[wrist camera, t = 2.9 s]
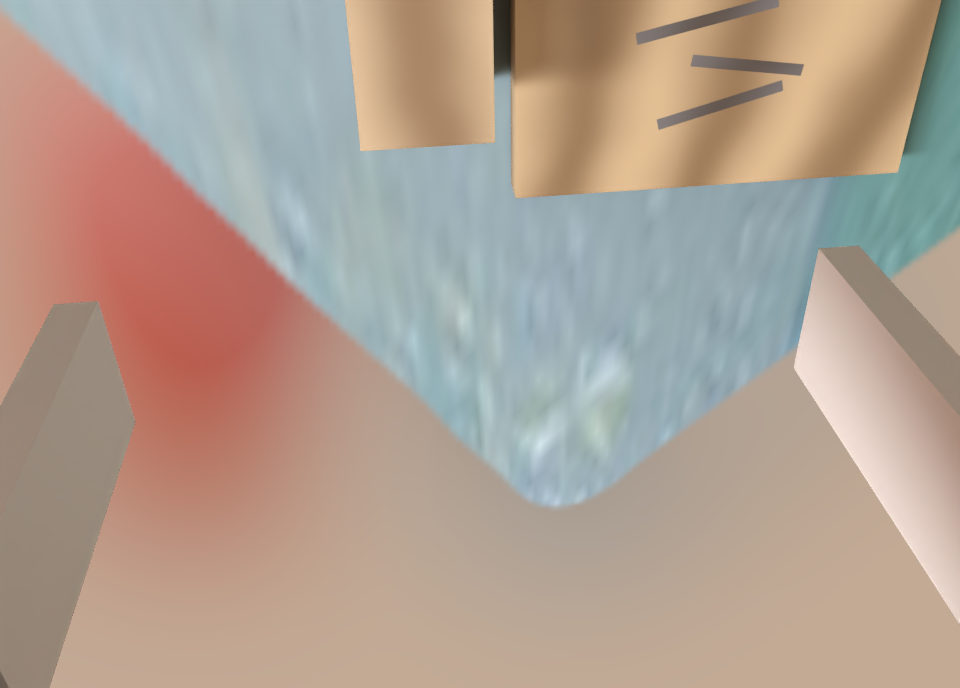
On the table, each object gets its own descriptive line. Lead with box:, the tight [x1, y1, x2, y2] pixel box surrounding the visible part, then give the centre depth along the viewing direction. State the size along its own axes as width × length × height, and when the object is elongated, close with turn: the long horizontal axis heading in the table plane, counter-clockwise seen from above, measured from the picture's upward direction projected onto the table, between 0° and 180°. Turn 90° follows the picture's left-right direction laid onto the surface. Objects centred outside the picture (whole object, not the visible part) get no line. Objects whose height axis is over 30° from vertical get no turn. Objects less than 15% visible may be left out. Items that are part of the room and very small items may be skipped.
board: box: [511, 0, 941, 198], centre depth 40 cm, size 18×12×2 cm, turn 91°
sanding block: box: [345, 0, 495, 151], centre depth 35 cm, size 5×8×7 cm, turn 1°
